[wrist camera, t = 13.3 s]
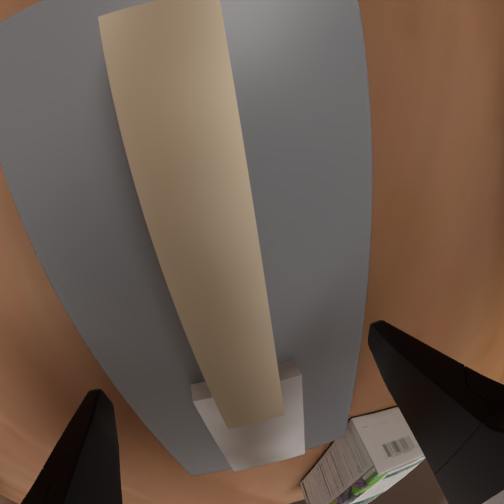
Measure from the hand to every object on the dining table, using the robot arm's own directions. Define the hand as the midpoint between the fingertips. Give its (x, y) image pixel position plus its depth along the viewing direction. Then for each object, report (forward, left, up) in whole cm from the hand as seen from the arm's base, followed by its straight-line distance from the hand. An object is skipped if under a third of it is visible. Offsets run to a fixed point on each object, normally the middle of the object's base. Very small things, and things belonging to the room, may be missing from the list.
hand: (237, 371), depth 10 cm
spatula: (0, +2, -3) cm, 4 cm away
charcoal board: (0, +2, -4) cm, 5 cm away
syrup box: (-10, +16, -2) cm, 19 cm away
